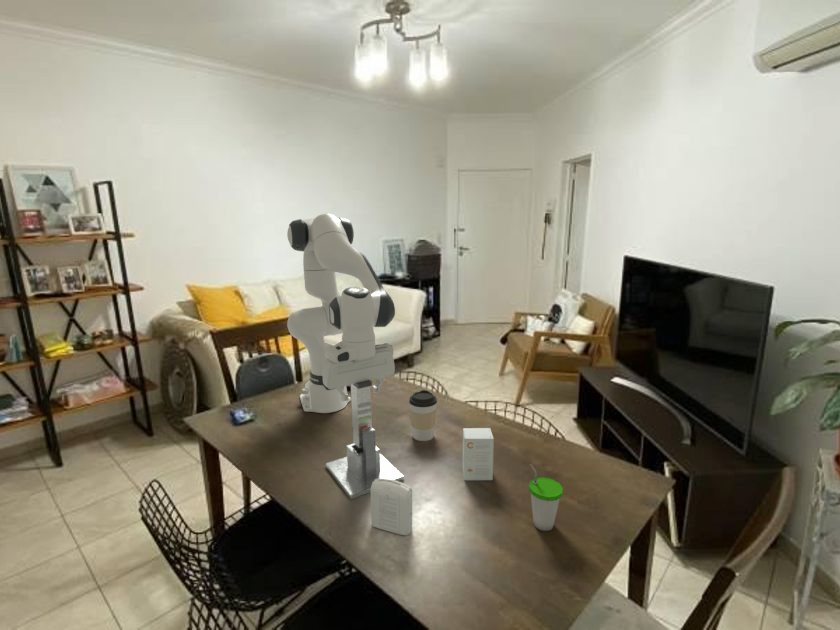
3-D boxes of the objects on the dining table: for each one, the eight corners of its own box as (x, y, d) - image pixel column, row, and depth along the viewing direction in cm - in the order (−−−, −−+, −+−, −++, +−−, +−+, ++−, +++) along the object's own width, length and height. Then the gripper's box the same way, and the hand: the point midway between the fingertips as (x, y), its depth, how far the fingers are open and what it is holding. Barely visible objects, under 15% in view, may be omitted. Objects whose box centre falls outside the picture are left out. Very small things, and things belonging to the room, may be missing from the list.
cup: (567, 531, 106) (571, 474, 103) (539, 539, 104) (542, 482, 100) (547, 510, 113) (550, 457, 110) (520, 518, 111) (523, 463, 107)
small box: (489, 468, 132) (491, 427, 129) (492, 480, 126) (494, 438, 123) (461, 468, 132) (462, 427, 129) (463, 480, 126) (464, 438, 123)
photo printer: (415, 526, 108) (414, 480, 105) (408, 538, 104) (407, 491, 101) (376, 516, 112) (375, 471, 109) (368, 527, 108) (366, 481, 105)
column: (351, 440, 129) (349, 377, 125) (364, 436, 131) (362, 374, 127) (360, 449, 124) (358, 384, 120) (373, 445, 126) (371, 381, 122)
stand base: (326, 466, 133) (323, 418, 129) (374, 451, 141) (373, 405, 138) (351, 499, 118) (348, 445, 115) (403, 479, 127) (402, 429, 123)
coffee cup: (434, 444, 146) (434, 400, 142) (406, 441, 147) (406, 398, 144) (438, 430, 154) (438, 389, 151) (412, 428, 156) (412, 387, 152)
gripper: (387, 339, 129) (388, 384, 132) (318, 351, 118) (321, 400, 122) (398, 344, 124) (399, 391, 127) (327, 358, 113) (330, 409, 116)
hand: (360, 396), depth 124 cm, fingers open, 8 cm apart
